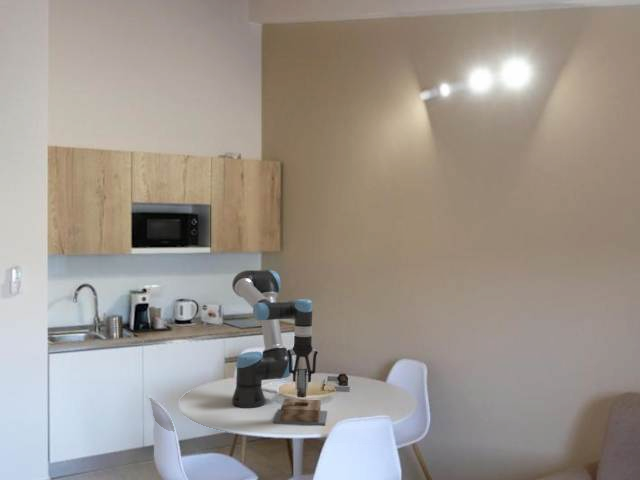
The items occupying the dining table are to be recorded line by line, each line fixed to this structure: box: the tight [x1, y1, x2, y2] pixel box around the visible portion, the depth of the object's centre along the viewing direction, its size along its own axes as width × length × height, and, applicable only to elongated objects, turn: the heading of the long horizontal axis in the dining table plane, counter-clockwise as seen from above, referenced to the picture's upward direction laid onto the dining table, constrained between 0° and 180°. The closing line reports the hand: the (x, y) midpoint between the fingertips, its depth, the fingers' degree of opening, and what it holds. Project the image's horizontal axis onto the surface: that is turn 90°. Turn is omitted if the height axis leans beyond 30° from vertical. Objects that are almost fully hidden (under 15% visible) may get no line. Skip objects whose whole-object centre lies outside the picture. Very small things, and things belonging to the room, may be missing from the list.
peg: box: [296, 367, 308, 399], centre depth 292 cm, size 4×4×12 cm
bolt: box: [337, 373, 348, 386], centre depth 350 cm, size 6×5×15 cm
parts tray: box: [323, 375, 351, 392], centre depth 351 cm, size 13×22×2 cm, turn 177°
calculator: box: [261, 379, 295, 394], centre depth 344 cm, size 13×20×2 cm, turn 148°
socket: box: [272, 398, 328, 426], centre depth 292 cm, size 22×18×6 cm
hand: (301, 389), depth 292 cm, fingers closed on peg, 4 cm apart
